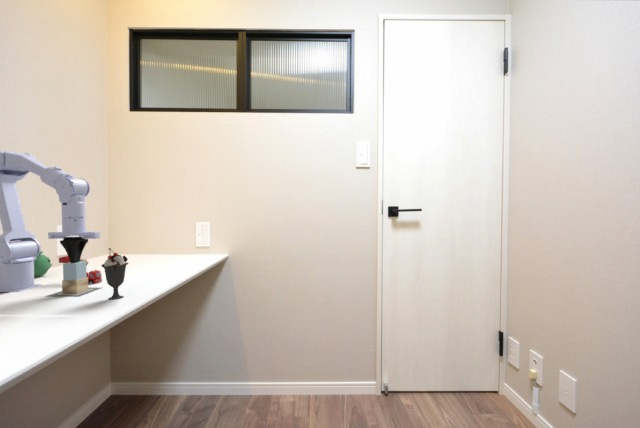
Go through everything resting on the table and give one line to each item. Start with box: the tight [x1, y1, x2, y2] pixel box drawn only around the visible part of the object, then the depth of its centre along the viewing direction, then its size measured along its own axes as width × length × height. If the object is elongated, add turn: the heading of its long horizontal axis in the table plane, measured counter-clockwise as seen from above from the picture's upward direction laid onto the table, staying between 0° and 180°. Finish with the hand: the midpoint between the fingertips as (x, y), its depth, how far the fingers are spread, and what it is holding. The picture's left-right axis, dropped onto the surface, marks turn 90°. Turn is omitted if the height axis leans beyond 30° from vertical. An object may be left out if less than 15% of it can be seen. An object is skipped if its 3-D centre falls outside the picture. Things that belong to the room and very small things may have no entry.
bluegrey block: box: [62, 261, 87, 280], centre depth 98 cm, size 4×4×5 cm
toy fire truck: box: [58, 255, 103, 285], centre depth 110 cm, size 3×14×10 cm, turn 84°
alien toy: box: [34, 250, 53, 278], centre depth 121 cm, size 7×8×10 cm
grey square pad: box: [45, 287, 102, 298], centre depth 98 cm, size 10×10×1 cm
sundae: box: [100, 247, 129, 301], centre depth 92 cm, size 7×7×15 cm
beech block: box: [61, 277, 89, 294], centre depth 98 cm, size 4×4×4 cm
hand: (74, 262), depth 98 cm, fingers closed
